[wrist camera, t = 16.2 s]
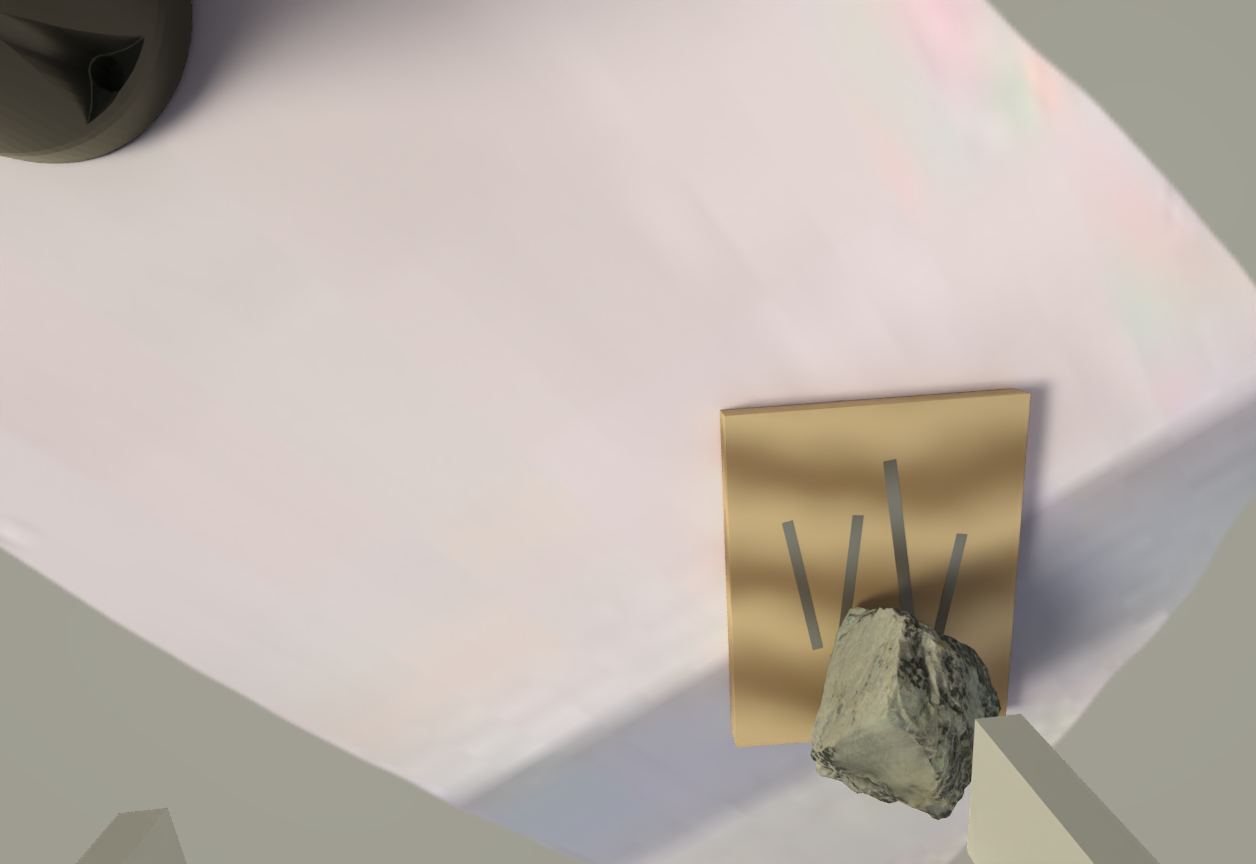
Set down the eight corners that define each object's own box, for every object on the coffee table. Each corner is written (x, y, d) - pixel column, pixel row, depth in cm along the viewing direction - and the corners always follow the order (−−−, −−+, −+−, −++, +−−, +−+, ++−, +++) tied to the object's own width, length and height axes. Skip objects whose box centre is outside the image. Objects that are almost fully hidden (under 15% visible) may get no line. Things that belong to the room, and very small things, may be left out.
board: (719, 410, 35) (725, 416, 34) (1013, 388, 35) (1030, 393, 34) (731, 730, 40) (736, 747, 38) (990, 709, 40) (1005, 725, 38)
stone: (1014, 873, 28) (934, 699, 26) (808, 821, 35) (729, 680, 33) (1037, 703, 35) (975, 551, 32) (860, 687, 42) (798, 561, 39)
